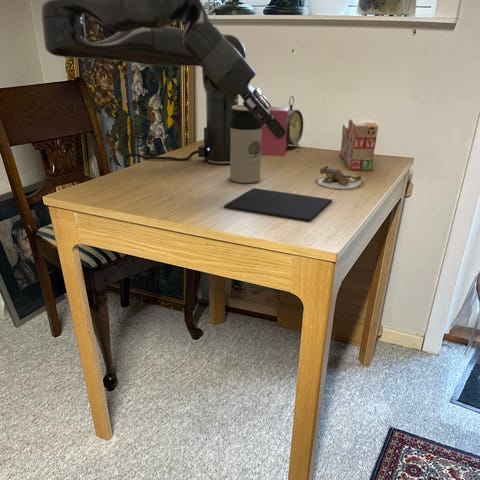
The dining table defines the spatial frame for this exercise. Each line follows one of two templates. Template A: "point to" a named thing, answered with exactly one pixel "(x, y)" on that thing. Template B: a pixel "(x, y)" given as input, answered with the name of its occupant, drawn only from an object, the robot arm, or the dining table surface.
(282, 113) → the block
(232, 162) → the travel mug
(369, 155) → the stack of blocks
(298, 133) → the alarm clock
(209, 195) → the dining table surface
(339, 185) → the frog figurine
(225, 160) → the robot arm
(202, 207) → the dining table surface
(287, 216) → the mat
